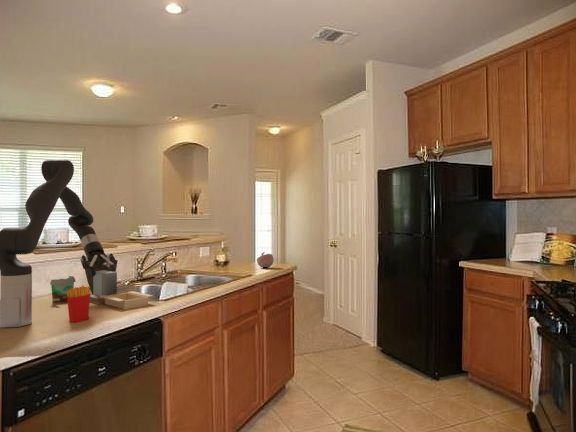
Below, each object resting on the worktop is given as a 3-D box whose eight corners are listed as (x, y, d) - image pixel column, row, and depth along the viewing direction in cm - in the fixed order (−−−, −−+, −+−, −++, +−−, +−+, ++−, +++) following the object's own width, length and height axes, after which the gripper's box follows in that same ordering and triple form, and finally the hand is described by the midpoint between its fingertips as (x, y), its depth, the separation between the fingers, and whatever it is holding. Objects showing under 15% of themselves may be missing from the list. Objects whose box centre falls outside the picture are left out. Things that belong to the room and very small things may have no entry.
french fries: (85, 317, 162) (84, 284, 162) (92, 318, 160) (92, 285, 160) (64, 322, 155) (64, 288, 155) (71, 323, 153) (71, 288, 153)
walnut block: (98, 306, 182) (98, 298, 182) (85, 302, 190) (85, 295, 190) (125, 301, 191) (125, 294, 191) (111, 298, 199) (111, 291, 199)
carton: (118, 312, 171) (118, 300, 171) (98, 306, 182) (98, 296, 182) (153, 306, 182) (153, 295, 182) (133, 301, 193) (133, 291, 193)
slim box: (105, 297, 185) (105, 273, 185) (93, 294, 192) (93, 271, 192) (116, 295, 189) (116, 272, 189) (104, 292, 196) (104, 270, 196)
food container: (62, 303, 188) (62, 280, 188) (50, 303, 189) (50, 279, 189) (81, 298, 200) (81, 276, 200) (69, 297, 201) (69, 275, 201)
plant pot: (84, 292, 215) (84, 259, 215) (117, 290, 220) (117, 258, 220) (82, 297, 201) (82, 262, 201) (117, 295, 206) (117, 261, 206)
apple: (266, 266, 322) (266, 251, 322) (277, 268, 312) (277, 252, 312) (253, 268, 314) (253, 252, 314) (263, 269, 305) (263, 253, 305)
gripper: (78, 241, 192) (90, 269, 184) (110, 240, 203) (122, 266, 195) (73, 253, 195) (85, 281, 188) (104, 251, 206) (116, 277, 199)
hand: (104, 274), depth 191 cm, fingers open, 8 cm apart
